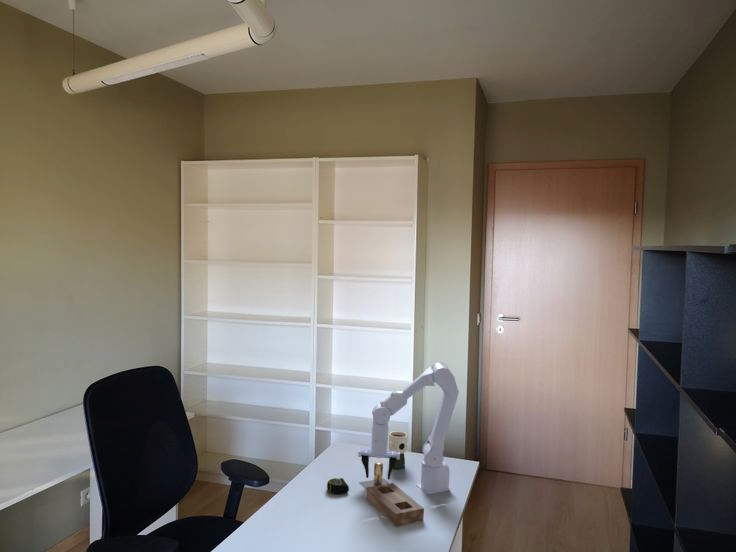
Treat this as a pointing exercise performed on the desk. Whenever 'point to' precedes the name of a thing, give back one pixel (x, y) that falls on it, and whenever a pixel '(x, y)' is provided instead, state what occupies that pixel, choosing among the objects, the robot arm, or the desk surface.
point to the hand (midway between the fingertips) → (378, 477)
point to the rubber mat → (372, 483)
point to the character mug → (398, 446)
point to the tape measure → (337, 486)
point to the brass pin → (378, 473)
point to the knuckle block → (395, 504)
